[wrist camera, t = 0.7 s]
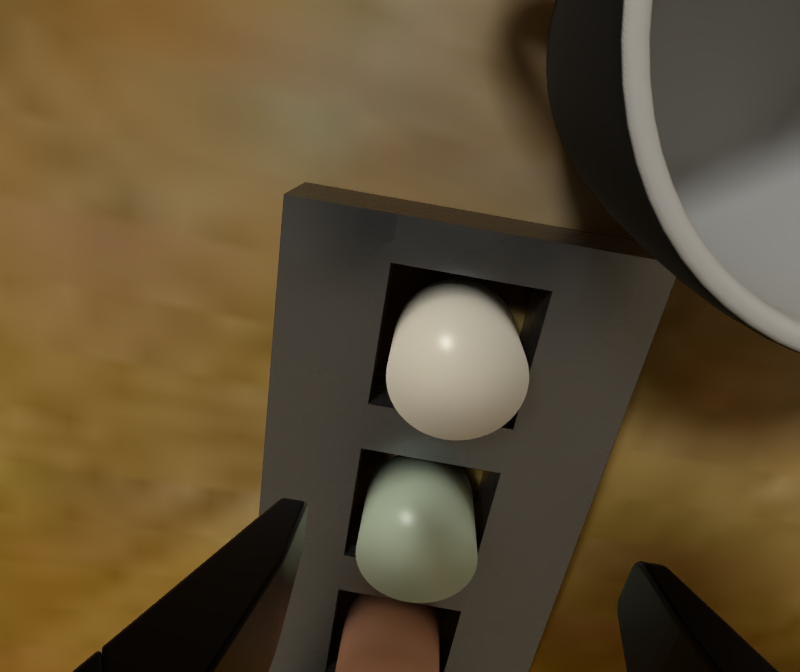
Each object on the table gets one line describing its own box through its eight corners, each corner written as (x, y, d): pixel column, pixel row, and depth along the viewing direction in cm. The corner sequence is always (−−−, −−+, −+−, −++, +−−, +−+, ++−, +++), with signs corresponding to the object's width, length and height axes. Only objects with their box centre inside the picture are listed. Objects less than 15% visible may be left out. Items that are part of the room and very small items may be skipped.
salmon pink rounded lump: (430, 660, 22) (428, 734, 19) (340, 644, 22) (327, 716, 19) (447, 594, 20) (448, 664, 18) (352, 577, 21) (339, 645, 18)
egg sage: (460, 545, 20) (464, 612, 17) (360, 527, 20) (348, 591, 17) (482, 462, 18) (489, 521, 16) (375, 443, 18) (364, 498, 16)
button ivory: (500, 399, 17) (510, 450, 15) (386, 379, 17) (376, 427, 15) (528, 291, 16) (545, 327, 13) (405, 269, 16) (397, 301, 13)
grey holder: (648, 242, 16) (680, 264, 14) (501, 671, 24) (507, 728, 22) (305, 182, 16) (283, 193, 14) (264, 628, 24) (246, 681, 22)
